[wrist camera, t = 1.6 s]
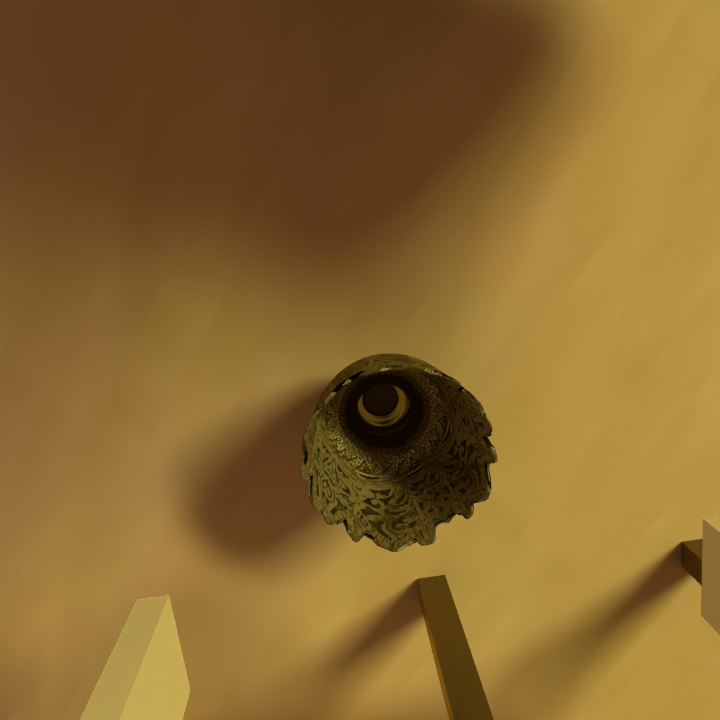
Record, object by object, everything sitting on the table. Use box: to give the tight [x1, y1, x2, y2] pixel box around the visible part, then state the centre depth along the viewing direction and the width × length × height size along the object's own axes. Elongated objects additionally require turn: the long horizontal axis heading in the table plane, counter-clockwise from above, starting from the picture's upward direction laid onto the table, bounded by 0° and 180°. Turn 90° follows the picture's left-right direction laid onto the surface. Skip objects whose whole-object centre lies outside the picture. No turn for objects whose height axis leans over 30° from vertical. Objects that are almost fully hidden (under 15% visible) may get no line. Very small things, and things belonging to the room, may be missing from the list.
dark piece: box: [301, 354, 498, 552], centre depth 27 cm, size 8×7×8 cm
